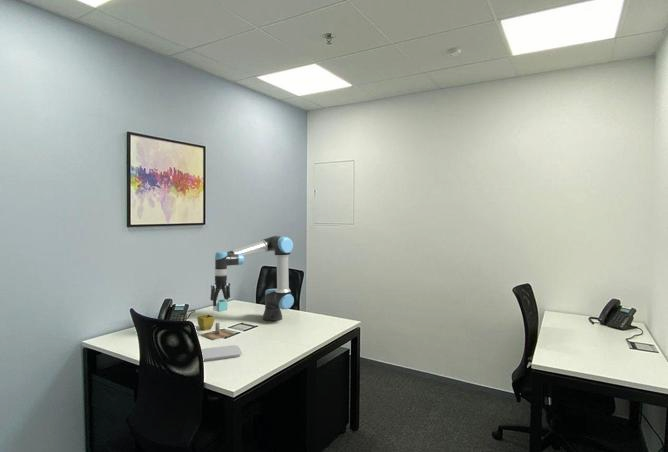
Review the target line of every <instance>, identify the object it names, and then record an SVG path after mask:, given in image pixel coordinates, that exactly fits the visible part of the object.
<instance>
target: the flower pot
mask: <svg viewBox="0 0 668 452" xmlns="http://www.w3.org/2000/svg"><path fill="white" fill-rule="evenodd" d="M214 322H215V316H214V315H211V314H209V313H207V314H201V315H197V325H198V327H199V328H200V329H201V330H202V331H208V330H211V329H212V327H213V326H214Z"/></svg>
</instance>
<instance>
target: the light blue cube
mask: <svg viewBox="0 0 668 452" xmlns="http://www.w3.org/2000/svg"><path fill="white" fill-rule="evenodd" d="M216 301H218V302H217V311H216V312H218V313H219V312H226V311H228V300H227V301H225V300H223V299H219V300H218V299H217V300H216ZM212 307H213V309H212V310H213V311H214V306H213V305H212Z"/></svg>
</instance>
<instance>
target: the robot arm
mask: <svg viewBox="0 0 668 452" xmlns="http://www.w3.org/2000/svg"><path fill="white" fill-rule="evenodd" d="M293 249H294V243H293V241H292V239H291V238H289V237H287V236H283V235H282V236H280V235H279V236H278V235H274V236H269V237H267V238H264V239H261V240H260V241H258V242H255V243H252V244H248V245H245V246H243V247H242V246H241V247H239V248H236V249H232V250H230V251H216V252H215V255H214V263H215V264H214V266H215V267H214V284H210V289H211V290H210V301H212V307H213V306H214V310H213V311H215V312H218V311H217V302H218V301H217V300H218V297H219V294H220V291H221V292H222V295H223V299H222V300H225V301H227V302H228V300H229V298H231V288H230V287H231V283H230V282H227V281H228V277H227V274H228V266H240V265H244V263H245V258H247V257H251V256H253V255H256V254H259V253H262V252H263V253H264V252H265V253H267V252H274V256H275V257H276V288H269V289H266V290H265V292H264V294H265V297H264V310H263V314H262V320H264V321H267V322H277V321H278V322H279V321H281V320H283V313H282V310H284V311H285V310H289V309H291V307H292V306H293V305H294V303H295V299H294V296H293V295H292V292H291V289H290V287H289V286H290V285H289V284H290V282H289V281H290V280H289V256H291V252H292V250H293Z"/></svg>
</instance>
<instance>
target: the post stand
mask: <svg viewBox="0 0 668 452" xmlns="http://www.w3.org/2000/svg"><path fill="white" fill-rule="evenodd" d="M214 326H215V328H214V329H215V330H211V331H209V332H208V331H207V332H205V333H201V334H200V336H201V337H203V338H207V339H209V340H211V341H216V340H219V339H223V338H225V337H226V336H227V337H230V336H233V334H234V335H235V333H234V332H231V331H228V330H225V329H223V328H221V329H220V327H221V325H220V322H215V325H214ZM229 335H230V336H229Z"/></svg>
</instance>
